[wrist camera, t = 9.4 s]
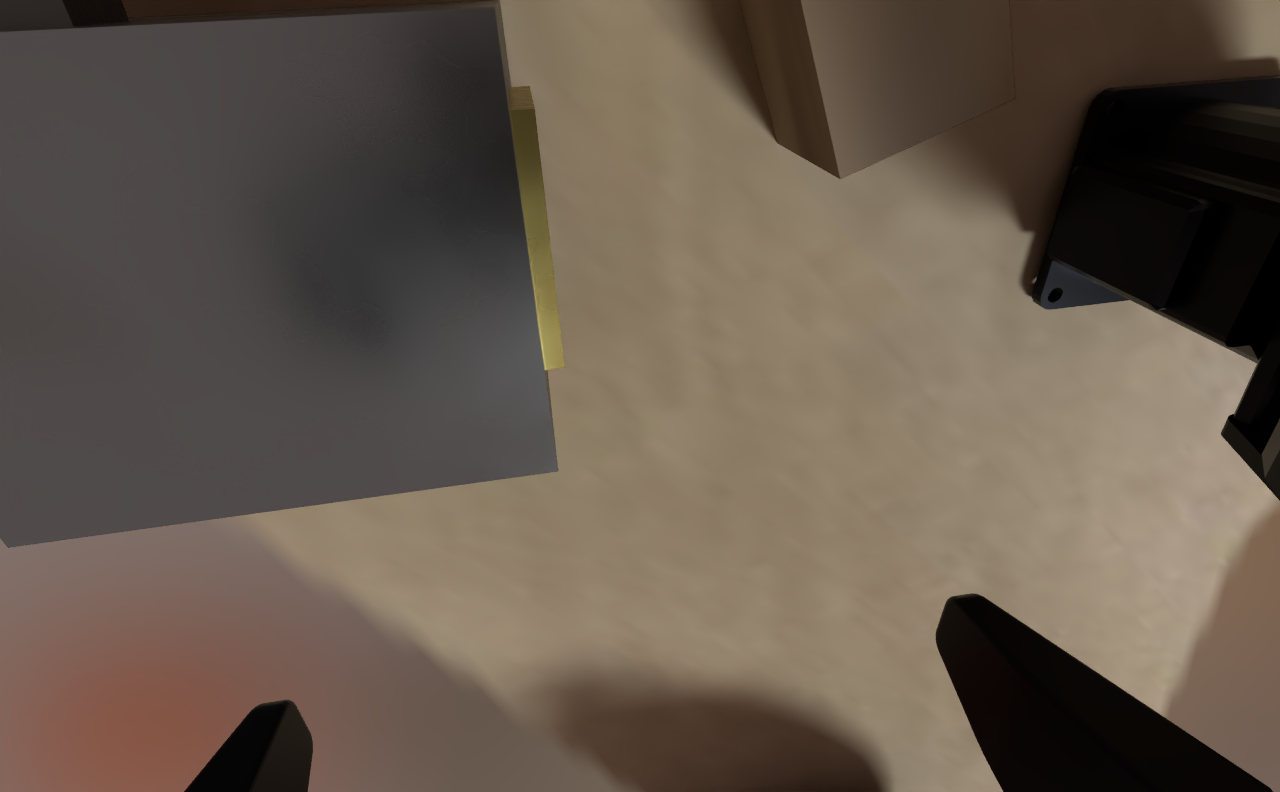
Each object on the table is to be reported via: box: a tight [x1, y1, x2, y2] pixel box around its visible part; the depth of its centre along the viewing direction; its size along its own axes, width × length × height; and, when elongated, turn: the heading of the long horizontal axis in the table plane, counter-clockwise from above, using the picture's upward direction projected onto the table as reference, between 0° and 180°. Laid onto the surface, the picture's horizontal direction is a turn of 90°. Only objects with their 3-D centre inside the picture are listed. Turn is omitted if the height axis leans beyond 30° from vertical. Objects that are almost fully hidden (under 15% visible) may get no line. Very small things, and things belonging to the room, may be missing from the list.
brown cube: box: [739, 0, 1015, 179], centre depth 15 cm, size 4×4×4 cm
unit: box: [0, 0, 565, 548], centre depth 13 cm, size 10×8×7 cm
